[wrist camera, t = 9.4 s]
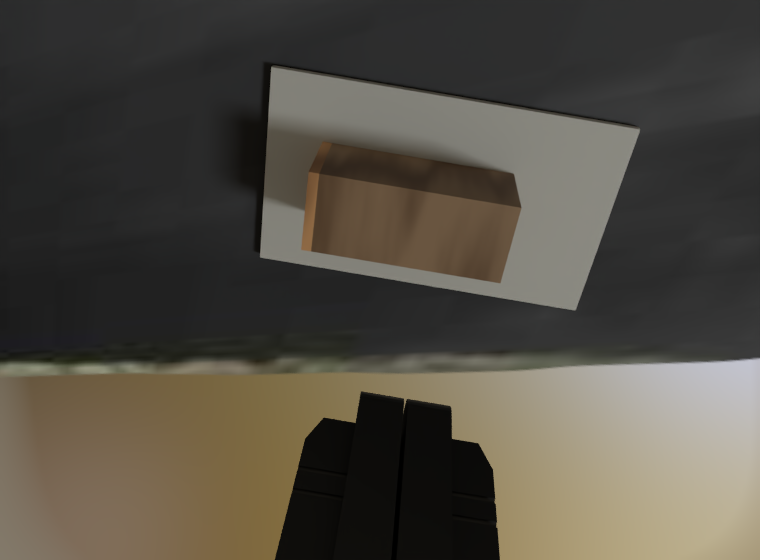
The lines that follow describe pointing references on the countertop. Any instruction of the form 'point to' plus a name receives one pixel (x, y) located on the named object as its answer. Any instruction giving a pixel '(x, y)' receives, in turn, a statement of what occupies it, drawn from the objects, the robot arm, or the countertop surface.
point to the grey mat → (458, 146)
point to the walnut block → (410, 212)
